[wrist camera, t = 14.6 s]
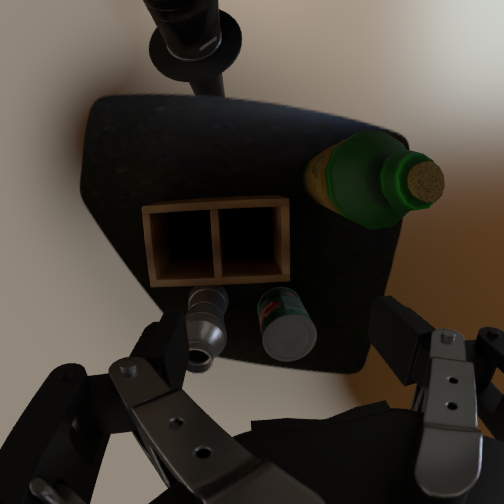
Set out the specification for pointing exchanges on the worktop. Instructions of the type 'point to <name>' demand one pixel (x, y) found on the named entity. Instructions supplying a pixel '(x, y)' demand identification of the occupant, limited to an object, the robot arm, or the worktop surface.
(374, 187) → the bottle
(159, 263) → the bottle rack
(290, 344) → the canned tomato
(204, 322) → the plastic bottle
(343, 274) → the worktop surface
